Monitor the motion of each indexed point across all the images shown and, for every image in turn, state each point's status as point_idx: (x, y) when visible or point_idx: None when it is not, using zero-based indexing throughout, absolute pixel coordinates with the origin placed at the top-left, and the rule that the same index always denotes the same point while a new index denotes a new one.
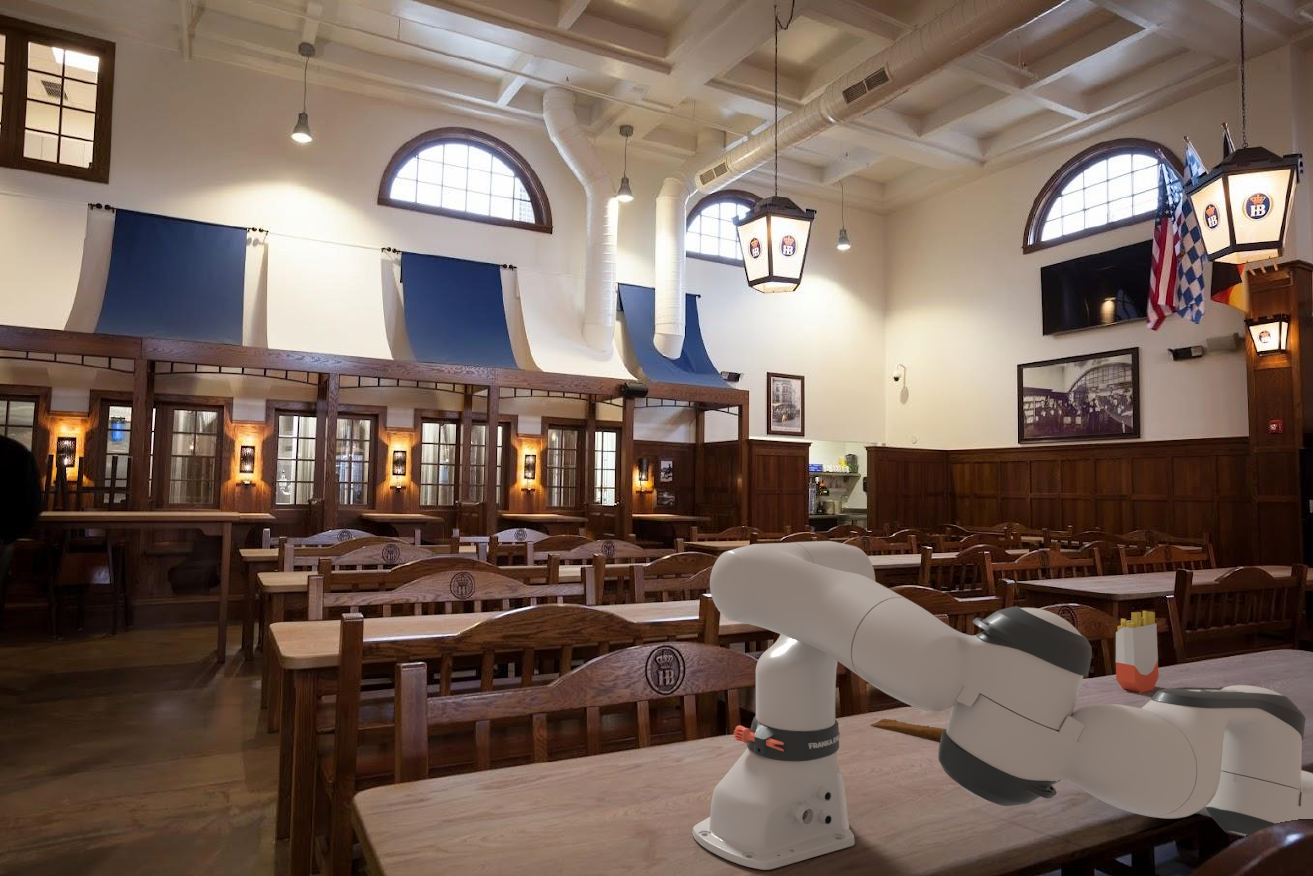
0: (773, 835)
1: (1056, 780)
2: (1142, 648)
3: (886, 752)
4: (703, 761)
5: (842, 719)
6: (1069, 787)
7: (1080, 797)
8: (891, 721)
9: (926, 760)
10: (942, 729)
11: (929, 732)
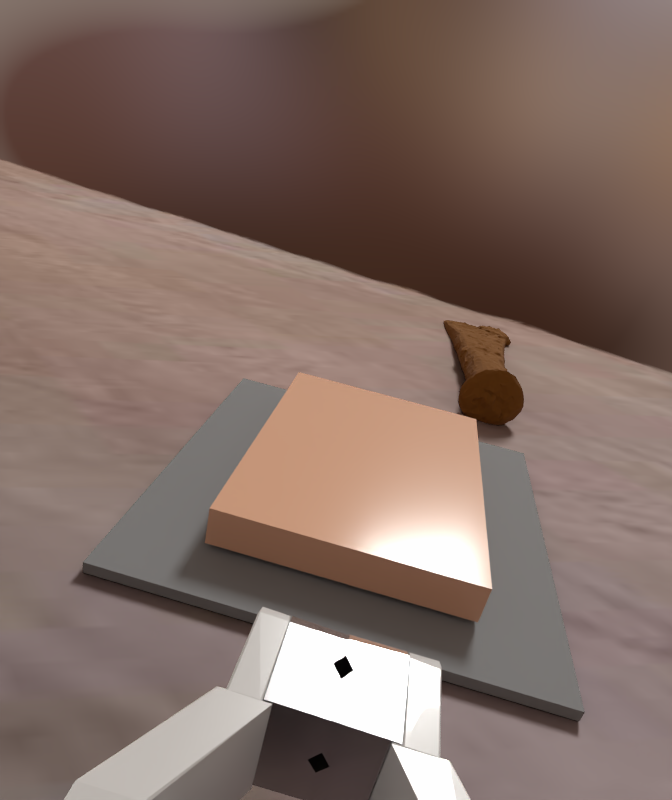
0: None
1: (340, 630)
2: None
3: (289, 325)
4: (66, 207)
5: (437, 301)
6: None
7: None
8: (494, 334)
9: (289, 365)
10: (487, 360)
11: (467, 358)
